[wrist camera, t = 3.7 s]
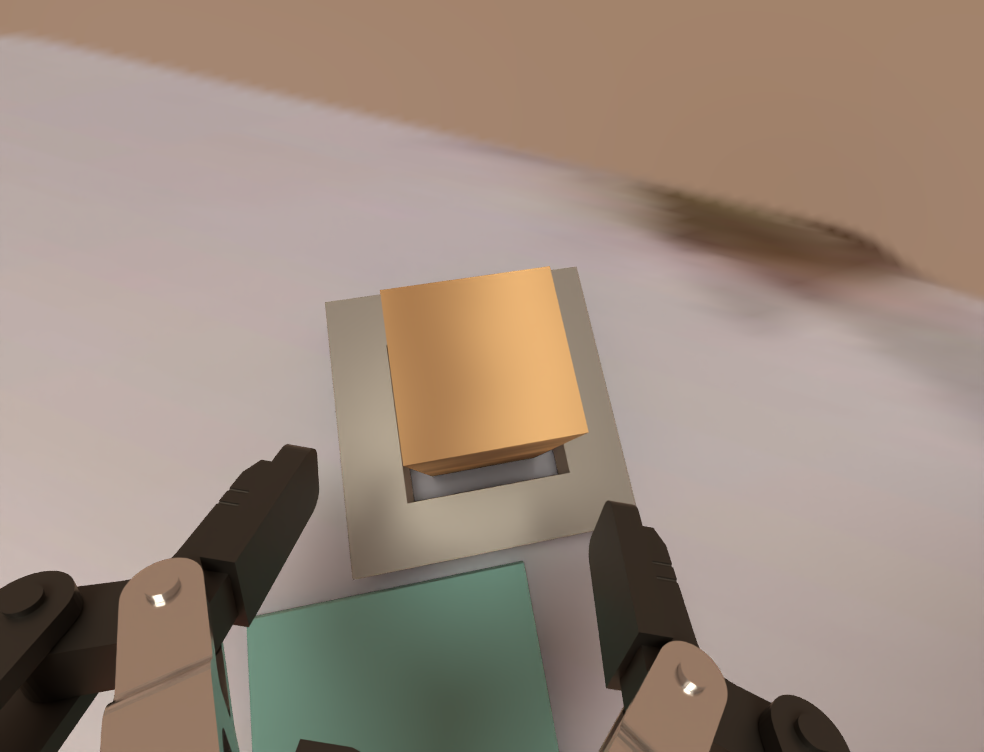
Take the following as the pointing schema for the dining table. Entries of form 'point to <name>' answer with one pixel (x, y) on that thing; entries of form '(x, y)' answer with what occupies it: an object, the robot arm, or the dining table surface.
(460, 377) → the oak block
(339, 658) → the teal mat
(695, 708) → the robot arm
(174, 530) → the dining table surface
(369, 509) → the frame
